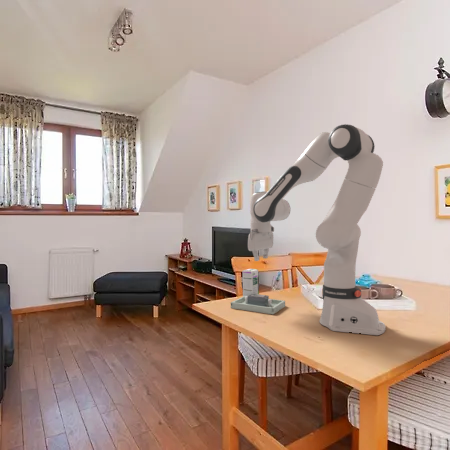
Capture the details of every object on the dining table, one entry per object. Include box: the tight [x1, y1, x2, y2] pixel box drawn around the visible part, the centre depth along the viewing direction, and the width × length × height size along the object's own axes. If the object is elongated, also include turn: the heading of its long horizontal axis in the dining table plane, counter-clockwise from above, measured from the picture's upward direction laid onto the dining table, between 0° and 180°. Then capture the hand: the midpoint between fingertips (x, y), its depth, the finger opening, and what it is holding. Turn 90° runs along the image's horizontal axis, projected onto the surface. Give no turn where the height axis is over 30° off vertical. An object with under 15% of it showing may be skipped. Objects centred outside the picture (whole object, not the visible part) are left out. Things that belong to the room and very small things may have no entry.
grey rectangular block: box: [248, 293, 270, 307], centre depth 145 cm, size 8×5×4 cm, turn 63°
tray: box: [230, 296, 286, 315], centre depth 145 cm, size 20×14×4 cm
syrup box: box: [242, 268, 260, 297], centre depth 159 cm, size 6×6×14 cm
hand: (261, 259), depth 146 cm, fingers open, 8 cm apart
